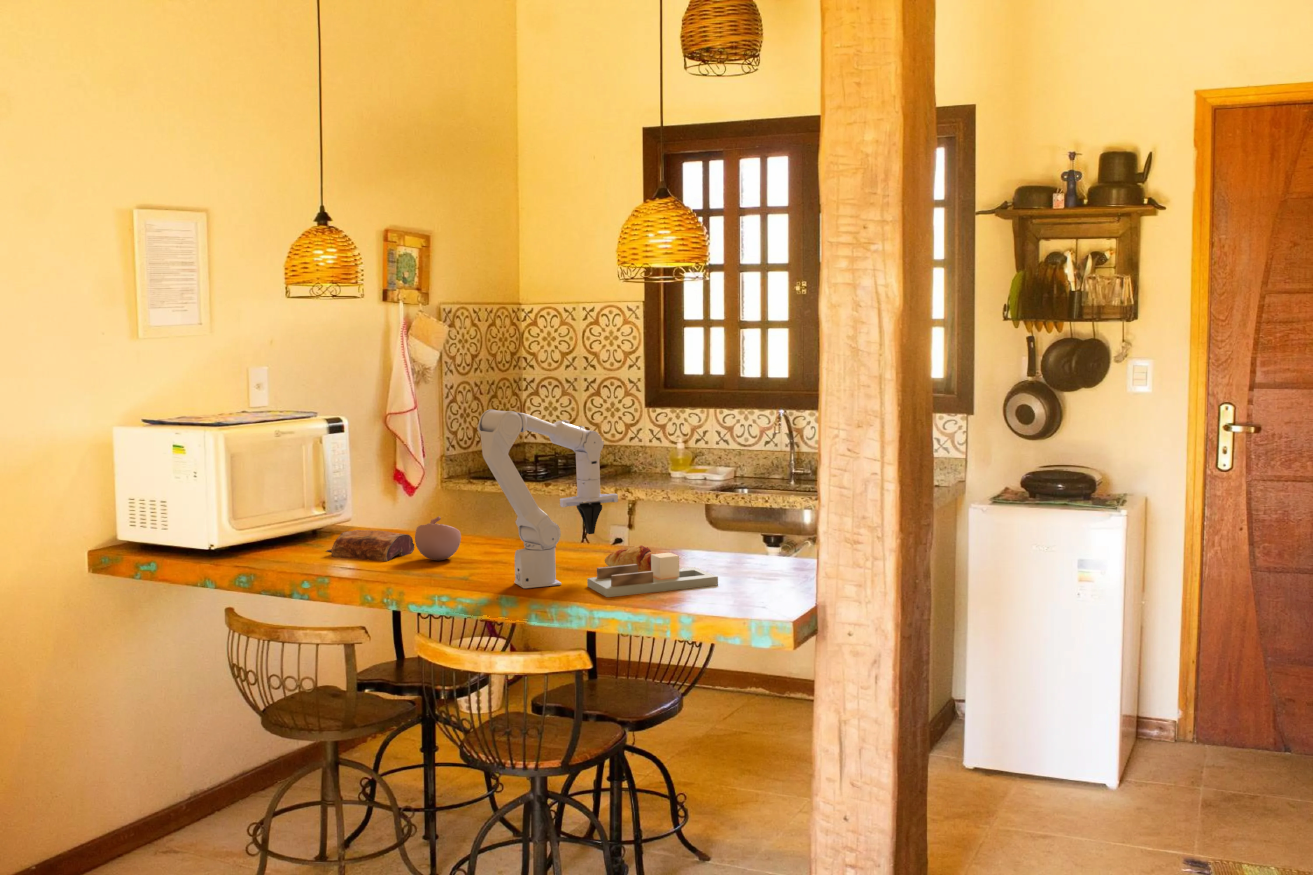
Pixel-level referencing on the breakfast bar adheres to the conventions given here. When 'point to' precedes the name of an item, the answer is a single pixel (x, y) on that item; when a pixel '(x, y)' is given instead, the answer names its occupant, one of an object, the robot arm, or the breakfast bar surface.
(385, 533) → the cured meat
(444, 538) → the pink apple
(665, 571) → the cube
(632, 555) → the croissant
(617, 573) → the parallel rails
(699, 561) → the breakfast bar surface
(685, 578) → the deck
